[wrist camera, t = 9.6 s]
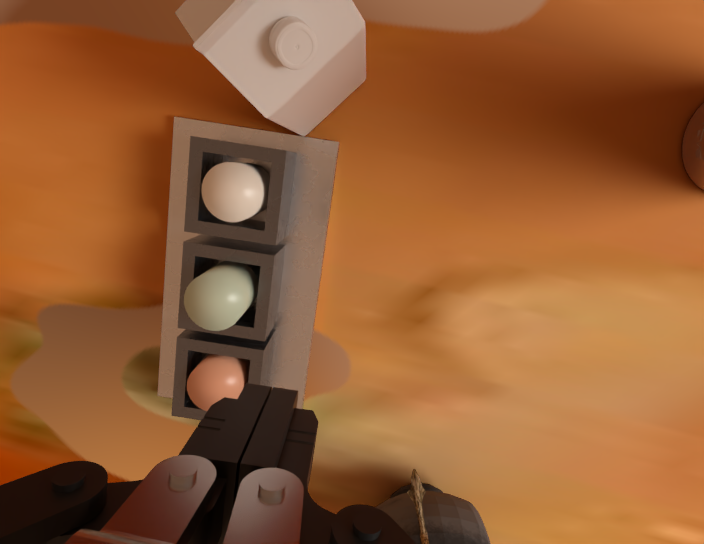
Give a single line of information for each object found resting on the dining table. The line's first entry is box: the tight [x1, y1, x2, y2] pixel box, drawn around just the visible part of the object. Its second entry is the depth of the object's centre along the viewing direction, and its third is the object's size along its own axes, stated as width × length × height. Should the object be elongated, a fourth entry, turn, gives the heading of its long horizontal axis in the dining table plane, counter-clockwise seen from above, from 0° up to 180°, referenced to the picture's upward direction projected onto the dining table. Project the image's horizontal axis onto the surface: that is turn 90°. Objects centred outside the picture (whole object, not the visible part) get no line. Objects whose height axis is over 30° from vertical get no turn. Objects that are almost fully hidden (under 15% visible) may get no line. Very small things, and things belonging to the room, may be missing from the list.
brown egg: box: [187, 353, 250, 411], centre depth 40 cm, size 4×4×5 cm
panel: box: [158, 117, 339, 420], centre depth 39 cm, size 14×26×6 cm, turn 172°
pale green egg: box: [184, 261, 259, 331], centre depth 36 cm, size 4×4×5 cm
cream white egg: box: [202, 162, 270, 222], centre depth 36 cm, size 4×4×5 cm
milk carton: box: [175, 0, 366, 136], centre depth 29 cm, size 7×7×19 cm
